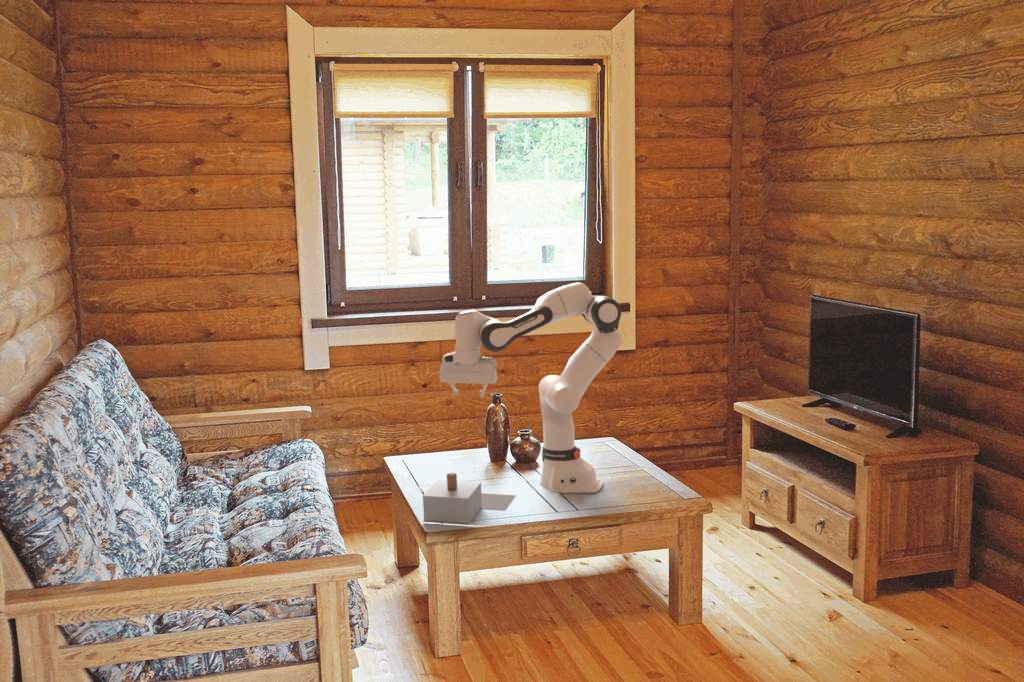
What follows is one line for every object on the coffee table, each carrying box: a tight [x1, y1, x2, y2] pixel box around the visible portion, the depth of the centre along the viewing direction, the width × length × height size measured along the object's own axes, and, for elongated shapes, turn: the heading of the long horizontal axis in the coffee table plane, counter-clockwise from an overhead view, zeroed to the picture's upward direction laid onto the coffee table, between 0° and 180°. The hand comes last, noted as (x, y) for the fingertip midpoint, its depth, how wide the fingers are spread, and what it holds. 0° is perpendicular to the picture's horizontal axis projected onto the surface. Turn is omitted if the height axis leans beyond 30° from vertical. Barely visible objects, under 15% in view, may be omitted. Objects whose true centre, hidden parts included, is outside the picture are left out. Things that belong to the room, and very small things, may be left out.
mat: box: [480, 492, 517, 512], centre depth 350 cm, size 18×16×1 cm
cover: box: [422, 472, 482, 525], centre depth 337 cm, size 15×15×14 cm
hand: (468, 395), depth 360 cm, fingers open, 8 cm apart
